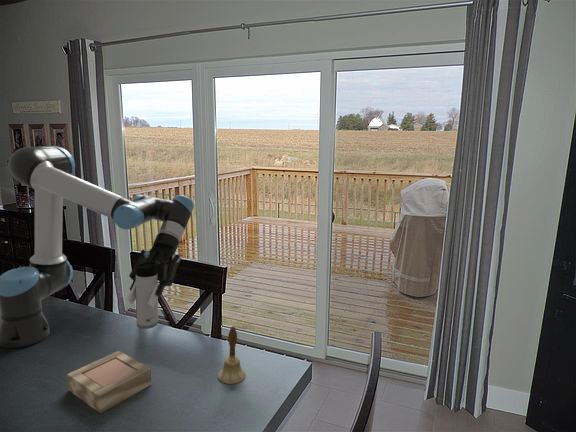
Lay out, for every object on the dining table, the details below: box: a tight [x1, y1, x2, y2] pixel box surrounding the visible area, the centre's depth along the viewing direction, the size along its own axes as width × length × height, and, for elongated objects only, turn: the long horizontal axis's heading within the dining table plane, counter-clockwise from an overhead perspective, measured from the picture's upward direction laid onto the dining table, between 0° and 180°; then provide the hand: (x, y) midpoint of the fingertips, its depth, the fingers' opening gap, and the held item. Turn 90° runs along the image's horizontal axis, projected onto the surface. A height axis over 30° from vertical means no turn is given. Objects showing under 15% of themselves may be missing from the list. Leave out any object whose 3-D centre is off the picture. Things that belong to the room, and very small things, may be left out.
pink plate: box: [83, 359, 136, 387], centre depth 113 cm, size 10×10×2 cm
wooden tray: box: [67, 350, 152, 415], centre depth 113 cm, size 16×16×5 cm
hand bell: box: [217, 326, 246, 385], centre depth 120 cm, size 8×8×16 cm
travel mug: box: [135, 261, 159, 330], centre depth 123 cm, size 6×7×20 cm
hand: (140, 303), depth 120 cm, fingers closed on travel mug, 6 cm apart
